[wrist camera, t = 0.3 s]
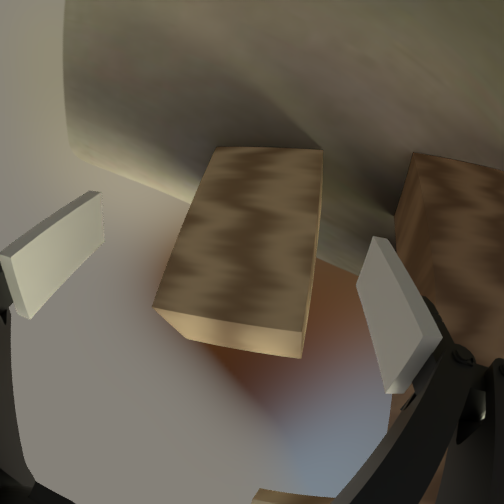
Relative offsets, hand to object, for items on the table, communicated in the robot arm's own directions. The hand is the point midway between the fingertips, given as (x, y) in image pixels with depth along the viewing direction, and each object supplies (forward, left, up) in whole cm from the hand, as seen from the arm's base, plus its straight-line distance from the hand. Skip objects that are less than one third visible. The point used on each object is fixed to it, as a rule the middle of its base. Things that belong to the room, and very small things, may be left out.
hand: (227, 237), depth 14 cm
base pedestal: (+12, +1, -17) cm, 21 cm away
